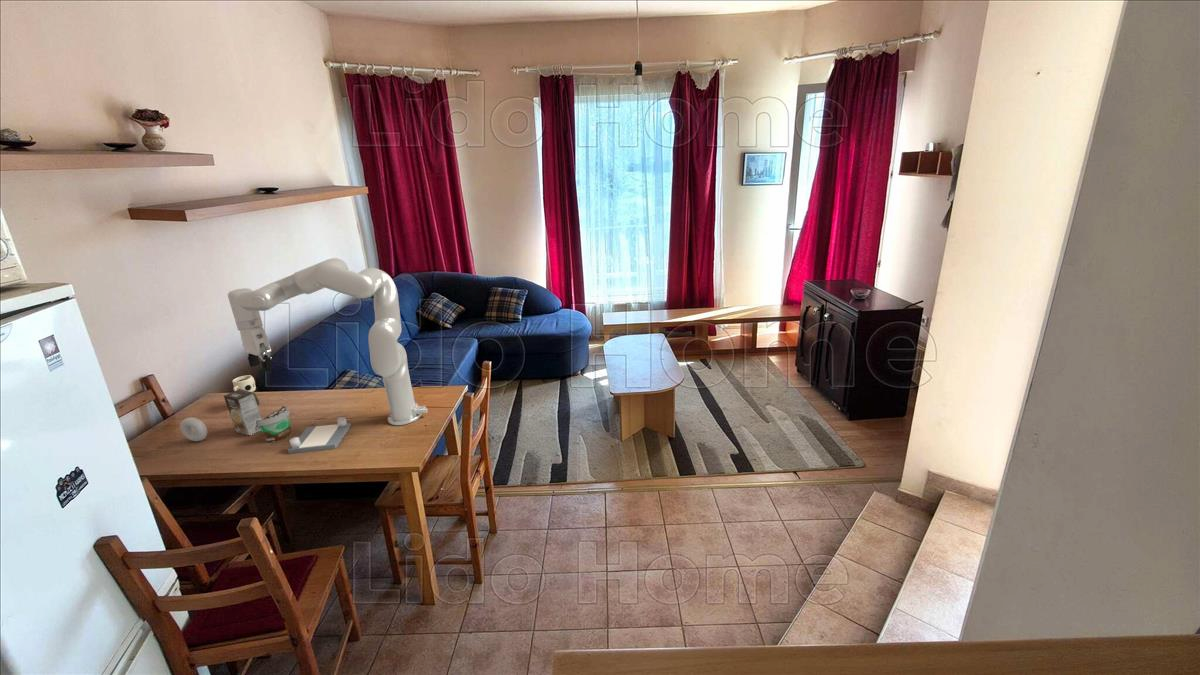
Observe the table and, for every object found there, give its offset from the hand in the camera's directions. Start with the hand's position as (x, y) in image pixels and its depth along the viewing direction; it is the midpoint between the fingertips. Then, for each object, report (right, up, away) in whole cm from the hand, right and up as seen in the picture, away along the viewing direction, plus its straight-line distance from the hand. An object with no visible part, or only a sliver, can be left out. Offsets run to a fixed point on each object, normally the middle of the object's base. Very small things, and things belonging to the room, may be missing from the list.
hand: (262, 367), depth 181 cm
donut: (-30, -29, +8) cm, 42 cm away
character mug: (-28, -19, +35) cm, 49 cm away
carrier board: (+20, -27, +3) cm, 34 cm away
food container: (+3, -27, +8) cm, 28 cm away
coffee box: (-14, -26, +13) cm, 32 cm away
